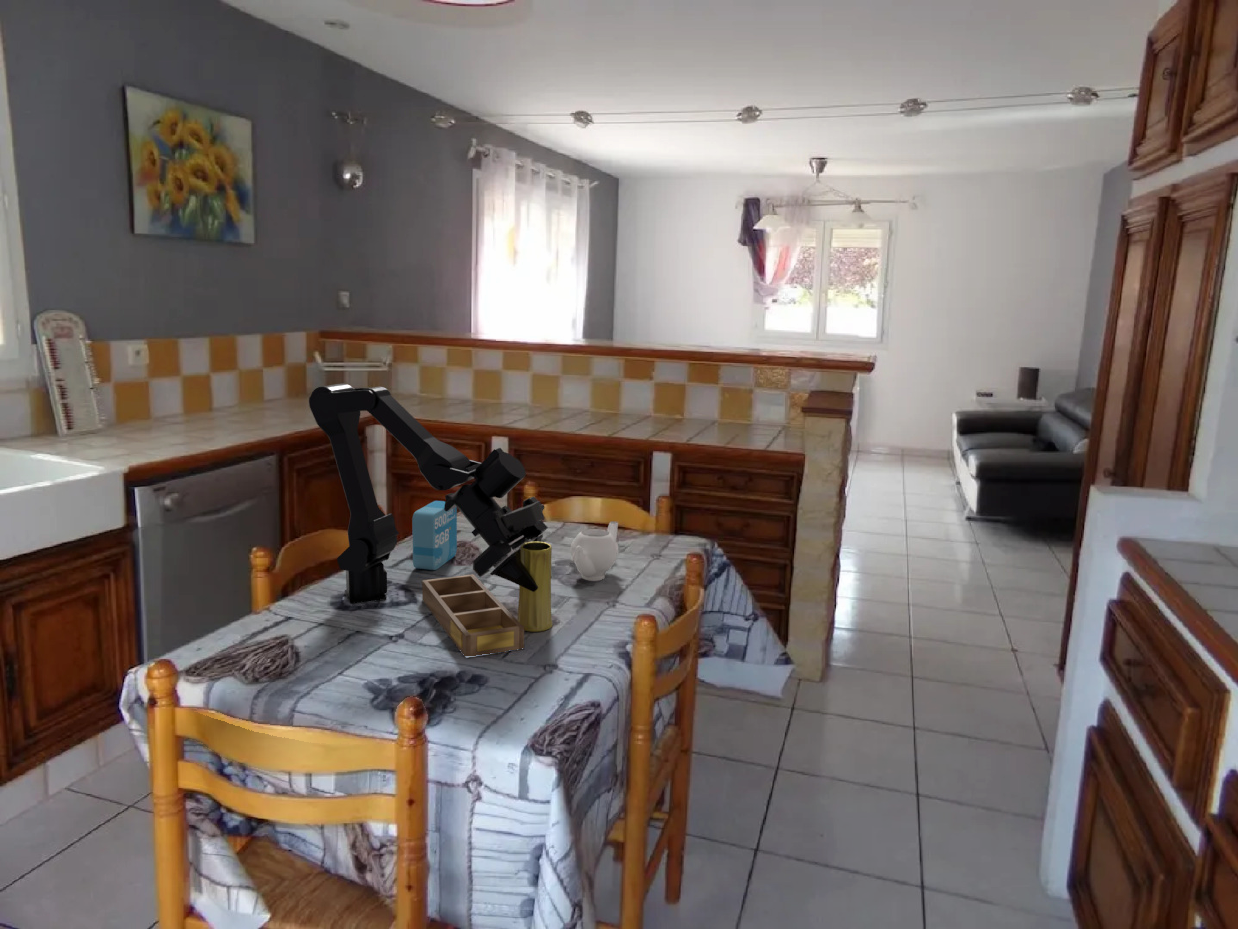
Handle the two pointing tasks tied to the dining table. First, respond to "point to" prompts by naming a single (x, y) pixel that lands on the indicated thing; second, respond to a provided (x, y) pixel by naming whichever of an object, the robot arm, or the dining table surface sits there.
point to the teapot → (595, 551)
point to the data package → (434, 536)
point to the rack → (472, 615)
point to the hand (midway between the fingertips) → (543, 584)
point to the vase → (537, 604)
